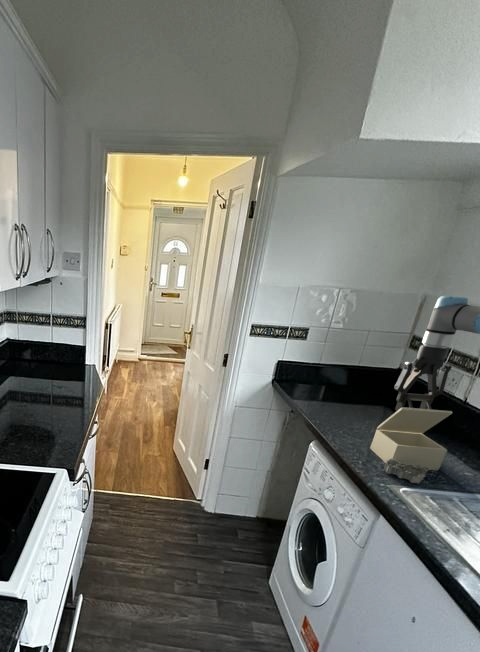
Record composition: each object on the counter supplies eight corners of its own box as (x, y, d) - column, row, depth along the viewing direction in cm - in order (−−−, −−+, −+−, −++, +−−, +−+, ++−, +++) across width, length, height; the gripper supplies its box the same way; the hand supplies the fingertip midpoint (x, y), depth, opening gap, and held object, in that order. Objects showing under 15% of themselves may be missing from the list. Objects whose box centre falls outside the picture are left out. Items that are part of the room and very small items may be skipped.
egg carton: (425, 479, 132) (431, 468, 130) (417, 486, 128) (422, 474, 126) (389, 464, 140) (393, 454, 138) (380, 470, 136) (384, 459, 134)
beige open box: (438, 470, 138) (447, 449, 135) (389, 466, 140) (397, 445, 136) (414, 452, 151) (422, 433, 148) (369, 448, 152) (376, 429, 149)
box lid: (452, 413, 134) (446, 392, 138) (402, 409, 136) (397, 388, 139) (422, 433, 147) (417, 413, 151) (377, 429, 149) (372, 410, 152)
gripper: (459, 345, 137) (433, 410, 146) (396, 341, 139) (374, 405, 148) (476, 350, 130) (447, 418, 139) (409, 345, 132) (385, 413, 141)
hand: (410, 411), depth 143 cm, fingers open, 7 cm apart
